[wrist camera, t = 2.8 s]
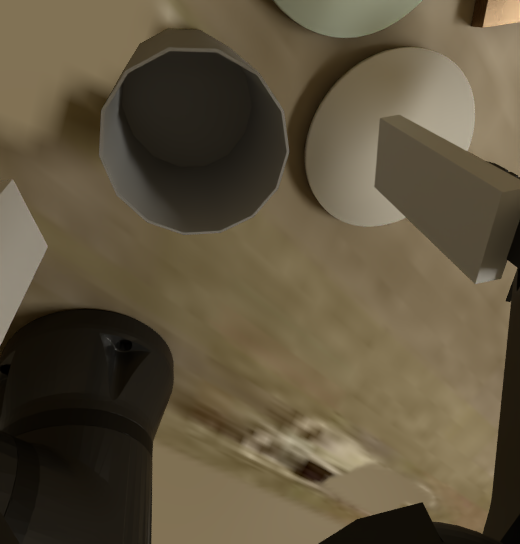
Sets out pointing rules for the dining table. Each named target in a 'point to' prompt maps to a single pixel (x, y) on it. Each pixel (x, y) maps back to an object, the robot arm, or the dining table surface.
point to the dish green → (346, 15)
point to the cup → (192, 135)
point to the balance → (495, 12)
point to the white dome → (365, 126)
